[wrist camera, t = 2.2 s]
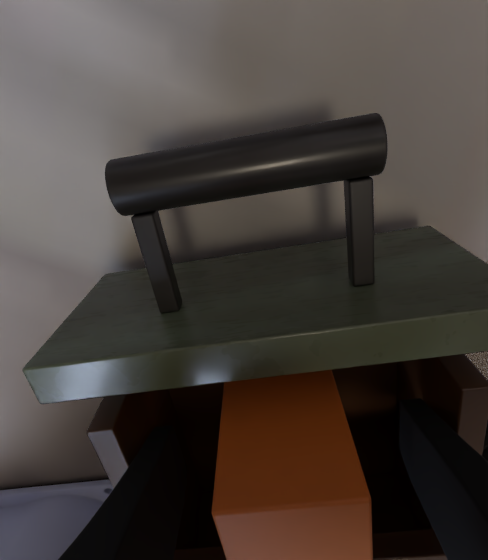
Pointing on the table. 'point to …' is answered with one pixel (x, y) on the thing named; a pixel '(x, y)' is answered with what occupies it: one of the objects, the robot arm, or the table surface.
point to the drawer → (273, 317)
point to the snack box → (289, 473)
